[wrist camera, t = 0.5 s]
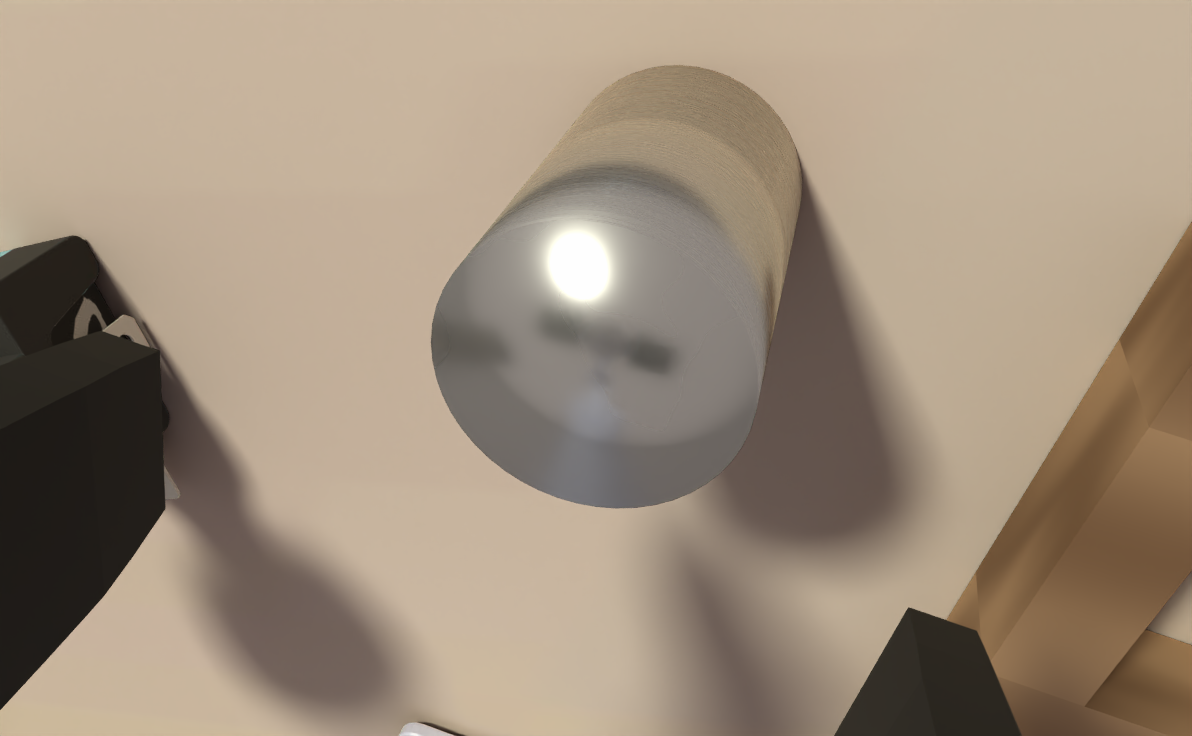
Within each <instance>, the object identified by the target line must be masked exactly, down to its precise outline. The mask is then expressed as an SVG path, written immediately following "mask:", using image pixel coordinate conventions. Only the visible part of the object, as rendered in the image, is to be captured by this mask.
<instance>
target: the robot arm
mask: <svg viewBox="0 0 1192 736" xmlns="http://www.w3.org/2000/svg"><path fill="white" fill-rule="evenodd" d="M164 510H165V482H164V456H163V429H162V402H161V376H160V351H159V350H156V349H153V348H150V347H147V346H144V345H141V344H138V343H136V342H133V341H130V340H127V339H124V338H121V337H118V336H115V335H112V334H109V333H106V332H103V331H98V332H95V333H92V334H89V335H86V336H82V337H79V338H76V339H73V340H70V341H67V342H64V343H61V344H58V345H55V346H53V347H50V348H47V349H44V350H41V351H38V352H36V353H33V354H30V355H27V356H25V357H22V358H19V359H16V360H14V361H11V362H8V363H5V364H3V365H0V710H1V709H2V708H3V707H4V705H5V704H6V703H7V702H8V701H9V700H10V699H11V698H12V697H13V696H14V695H15V694H16V692H17V691H18V690H19V689H20V688H21V687H22V686H23V685H24V684H25V683H26V682H27V681H28V679H29V678H30V677H31V676H32V675H33V674H34V673H35V672H36V671H37V670H38V669H39V667H40V666H41V665H42V664H43V663H44V662H45V661H46V660H47V659H48V658H49V657H50V655H51V654H52V653H53V652H54V651H55V650H56V649H57V648H58V647H59V646H60V644H61V643H62V642H63V641H64V640H65V639H66V638H67V637H68V636H69V634H70V633H71V632H72V631H73V630H74V629H75V628H76V627H77V626H78V625H79V623H80V622H81V621H82V620H83V619H84V618H85V617H86V616H87V615H88V613H89V612H90V611H91V610H92V609H93V608H94V607H95V605H96V604H97V603H98V602H99V601H100V600H101V599H102V598H103V596H104V595H105V594H106V593H107V591H108V590H109V588H110V587H111V586H112V584H113V583H114V582H115V580H116V579H117V577H118V576H119V575H120V573H121V572H122V571H123V569H124V568H125V567H126V565H127V564H128V562H129V561H130V560H131V558H132V557H133V556H134V554H135V553H136V551H137V550H138V548H139V547H140V545H141V544H142V542H143V541H144V539H145V538H146V536H147V535H148V533H149V532H150V531H151V529H152V528H153V526H154V525H155V523H156V522H157V520H158V519H159V517H160V516H161V514H162V513H163V511H164ZM399 736H455V735H452V734H449V733H446V732H444V731H441V730H438V729H436V728H433V727H430V726H427V725H425V724H422V723H417V722H413V723H408V724H406V725H404V727H403V728H402V730H401V732H400V734H399ZM834 736H1022V734H1021V732H1020V729H1019V727H1018V725H1017V722H1016V720H1015V718H1014V715H1013V713H1012V711H1011V708H1010V706H1009V703H1008V701H1007V699H1006V696H1005V694H1004V692H1003V689H1002V687H1001V685H1000V682H999V680H998V677H997V675H996V673H995V670H994V668H993V666H992V663H991V661H990V659H989V656H988V654H987V652H986V649H985V647H984V645H983V643H982V641H981V638H980V636H979V634H978V632H977V631H976V630H973V629H970V628H967V627H965V626H962V625H959V624H956V623H953V622H950V621H947V620H944V619H941V618H938V617H935V616H932V615H930V614H927V613H924V612H921V611H918V610H915V609H912V608H909V607H908V609H907V611H906V612H905V614H904V616H903V618H902V619H901V621H900V623H899V625H898V626H897V628H896V630H895V631H894V633H893V635H892V637H891V638H890V640H889V642H888V644H887V645H886V647H885V649H884V650H883V652H882V654H881V656H880V657H879V659H878V661H877V663H876V664H875V666H874V668H873V669H872V671H871V673H870V675H869V676H868V678H867V680H866V682H865V683H864V685H863V687H862V688H861V690H860V692H859V694H858V695H857V697H856V699H855V701H854V702H853V704H852V706H851V707H850V709H849V711H848V713H847V714H846V716H845V718H844V720H843V721H842V723H841V725H840V726H839V728H838V730H837V732H836V733H835V735H834Z"/></svg>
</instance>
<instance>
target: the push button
mask: <svg viewBox="0 0 1192 736" xmlns="http://www.w3.org/2000/svg"><path fill="white" fill-rule="evenodd" d="M98 273H99V268H98V264H97V261H96V259H95V257H94V256H93V254H92V252H91V250H90V249H89V247H88V245H87V244H86V242H85V241H84V240H83V239H81V238H80V237H78V236H68V237H64V238H59V239H55V240H50V241H46V242H42V243H37V244H33V245H29V246H24V247H20V248H16V249H13V250H9V251H4V252H0V365H3V364H5V363H8V362H11V361H14V360H16V359H19V358H22V357H25V356H27V355H30V354H33V353H36V352H38V351H41V350H44V349H47V348H50V347H53V346H55V345H58V344H61V343H64V342H67V341H70V340H73V339H76V338H79V337H82V336H86V335H89V334H92V333H95V332H98V331H103V332H106V333H109V334H112V335H115V336H118V337H121V338H124V339H126V337H125V336H124V335H126V336H128V337H129V338H130V340H131V341H133V342H136V343H138V344H141V345H144V346H147V347H150V346H149V344H148V343H147V341H146V339H145V337H144V335H143V334H142V332H141V330H140V328H139V327H138V325H137V323H136V321H135V319H134V318H133V317H130V316H127V315H121V316H120V317H119V318H118V319H116V320H115V318H114V316H113V315H112V313H111V311H110V309H109V308H108V306H107V304H106V302H105V301H104V299H103V297H102V295H101V294H100V292H99V290H98V288H97V287H96V285H95V283H94V281H95V280H96V278H97V276H98ZM161 402H162V400H161ZM168 424H169V413H168V411H167V409H166V407H165V405H164V404H163V402H162V429H163V432H164V431H165V429H166V428H167V427H168ZM163 456H164V455H163ZM164 458H165V457H164ZM164 482H165V500H170V499H178V498H179V497H180V494H181V493H180V491H179V490H178V488H177V486H176V485H175V483H174V481H173V480H172V478H171V476H170V475H169V473H168V471H167V469H166V468H165V466H164Z"/></svg>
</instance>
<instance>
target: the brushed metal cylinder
mask: <svg viewBox="0 0 1192 736" xmlns="http://www.w3.org/2000/svg"><path fill="white" fill-rule="evenodd" d="M801 197H802V174H801V167H800V161H799V158H798V154H797V151H796V147H795V145H794V143H793V140H792V138H791V136H790V134H789V132H788V130H787V128H786V127H785V125H784V124H783V122H782V120H781V119H780V117H779V116H778V115H777V114H776V113H775V111H774V110H773V109H772V108H771V106H770V105H769V104H768V103H767V102H765V101H764V100H763V99H762V98H761V97H760V96H759V95H758V94H757V93H755V92H754V91H752V90H751V89H750V88H748V87H747V86H745V85H744V84H742V83H740V82H738V81H736V80H735V79H733V78H731V77H729V76H726V75H724V74H721V73H718V72H716V71H713V70H708V69H704V68H700V67H693V66H683V65H674V66H660V67H654V68H649V69H645V70H642V71H639V72H636V73H633V74H631V75H628V76H626V77H624V78H622V79H620V80H618V81H617V82H615V83H614V84H612V85H611V86H609V87H608V88H606V89H605V90H604V91H603V92H601V93H600V94H599V95H598V96H597V97H596V98H595V99H594V100H593V101H592V102H591V103H590V105H589V106H588V107H587V108H586V109H585V110H584V112H583V113H582V114H581V115H580V117H579V118H578V119H577V120H576V122H575V123H574V124H573V125H572V127H571V128H570V129H569V130H568V131H567V133H566V134H565V135H564V136H563V138H562V139H561V140H560V141H559V143H558V144H557V145H556V146H555V148H554V149H553V150H552V151H551V153H550V154H549V155H548V156H547V158H546V159H545V160H544V161H543V162H542V164H541V165H540V166H539V167H538V169H537V170H536V171H535V172H534V174H533V175H532V176H531V177H530V179H529V180H528V181H527V182H526V184H525V185H524V186H523V187H522V188H521V190H520V191H519V192H518V193H517V195H516V196H515V197H514V198H513V200H512V201H511V202H510V203H509V205H508V206H507V207H506V208H505V210H504V211H503V212H502V213H501V214H500V216H499V217H498V218H497V219H496V221H495V222H494V223H493V224H492V226H491V227H490V228H489V229H488V231H487V232H486V233H485V234H484V236H483V237H482V238H481V239H480V241H479V242H478V243H477V244H476V245H475V247H474V248H473V249H472V250H471V252H470V253H469V254H468V255H467V257H466V258H465V259H464V260H463V262H462V263H461V264H460V265H459V267H458V268H457V269H456V270H455V271H454V273H453V274H452V276H451V277H450V279H449V281H448V282H447V284H446V286H445V287H444V289H443V291H442V294H441V296H440V298H439V301H438V303H437V306H436V310H435V314H434V319H433V323H432V336H431V347H432V360H433V365H434V369H435V374H436V378H437V381H438V384H439V387H440V390H441V392H442V395H443V397H444V399H445V401H446V403H447V405H448V407H449V409H450V411H451V413H452V415H453V416H454V418H455V419H456V421H457V422H458V424H459V425H460V427H461V428H462V430H463V431H464V432H465V433H466V434H467V436H468V437H469V438H470V439H471V440H472V442H473V443H474V444H475V445H476V446H477V447H478V448H479V449H480V450H481V451H482V452H483V453H484V454H485V455H486V456H487V457H488V458H489V459H491V460H492V461H493V462H494V463H496V464H497V465H498V466H500V467H501V468H502V469H503V470H505V471H506V472H508V473H509V474H511V475H512V476H514V477H515V478H517V479H519V480H520V481H522V482H524V483H526V484H528V485H530V486H532V487H534V488H535V489H537V490H539V491H542V492H545V493H547V494H550V495H552V496H555V497H557V498H560V499H564V500H567V501H571V502H574V503H578V504H584V505H589V506H595V507H605V508H637V507H645V506H652V505H657V504H661V503H664V502H668V501H672V500H675V499H677V498H680V497H682V496H685V495H687V494H690V493H691V492H693V491H695V490H697V489H698V488H700V487H702V486H704V485H705V484H707V483H708V482H709V481H711V480H712V479H713V478H715V477H716V476H717V475H719V474H720V473H721V472H722V471H723V470H724V469H725V468H726V467H727V466H728V465H729V464H730V462H731V461H732V460H733V459H734V458H735V456H736V455H737V453H738V452H739V450H740V449H741V448H742V446H743V444H744V442H745V440H746V438H747V436H748V434H749V432H750V430H751V427H752V424H753V420H754V417H755V413H756V410H757V405H758V400H759V396H760V391H761V386H762V382H763V377H764V372H765V368H766V363H767V358H768V354H769V349H770V345H771V340H772V335H773V331H774V326H775V321H776V317H777V312H778V307H779V303H780V298H781V293H782V289H783V284H784V280H785V275H786V270H787V266H788V261H789V256H790V252H791V247H792V242H793V238H794V233H795V229H796V224H797V219H798V215H799V210H800V204H801Z"/></svg>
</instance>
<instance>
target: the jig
mask: <svg viewBox="0 0 1192 736" xmlns="http://www.w3.org/2000/svg"><path fill="white" fill-rule="evenodd" d="M1191 571H1192V222H1191V224H1190V225H1189V227H1188V229H1187V230H1186V232H1185V234H1184V235H1183V237H1182V238H1181V240H1180V242H1179V243H1178V245H1177V246H1176V248H1175V250H1174V251H1173V253H1172V255H1171V256H1170V258H1169V259H1168V261H1167V263H1166V264H1165V266H1164V268H1163V269H1162V271H1161V272H1160V274H1159V276H1158V277H1157V279H1156V281H1155V282H1154V284H1153V285H1152V287H1151V289H1150V290H1149V292H1148V294H1147V295H1146V297H1145V298H1144V300H1143V302H1142V303H1141V305H1140V307H1139V308H1138V310H1137V311H1136V313H1135V315H1134V316H1133V318H1132V320H1131V321H1130V323H1129V324H1128V326H1127V328H1126V329H1125V331H1124V333H1123V334H1122V336H1121V337H1120V339H1119V341H1118V342H1117V344H1116V346H1115V347H1114V349H1113V350H1112V352H1111V354H1110V355H1109V357H1108V359H1107V360H1106V362H1105V363H1104V365H1103V367H1102V368H1101V370H1100V372H1099V373H1098V375H1097V376H1096V378H1095V380H1094V381H1093V383H1092V384H1091V386H1090V388H1089V389H1088V391H1087V393H1086V394H1085V396H1084V397H1083V399H1082V401H1081V402H1080V404H1079V406H1078V407H1077V409H1076V410H1075V412H1074V414H1073V415H1072V417H1071V419H1070V420H1069V422H1068V423H1067V425H1066V427H1065V428H1064V430H1063V432H1062V433H1061V435H1060V436H1059V438H1058V440H1057V441H1056V443H1055V445H1054V446H1053V448H1052V449H1051V451H1050V453H1049V454H1048V456H1047V458H1046V459H1045V461H1044V462H1043V464H1042V466H1041V467H1040V469H1039V471H1038V472H1037V474H1036V475H1035V477H1034V479H1033V480H1032V482H1031V484H1030V485H1029V487H1028V488H1027V490H1026V492H1025V493H1024V495H1023V497H1022V498H1021V500H1020V501H1019V503H1018V505H1017V506H1016V508H1015V510H1014V511H1013V513H1012V514H1011V516H1010V518H1009V519H1008V521H1007V522H1006V524H1005V526H1004V527H1003V529H1002V531H1001V532H1000V534H999V535H998V537H997V539H996V540H995V542H994V544H993V545H992V547H991V548H990V550H989V552H988V553H987V555H986V557H985V558H984V560H983V561H982V563H981V565H980V566H979V568H978V570H977V571H976V573H975V574H974V576H973V578H972V579H971V581H970V583H969V584H968V586H967V587H966V589H965V591H964V592H963V594H962V596H961V597H960V599H959V600H958V602H957V604H956V605H955V607H954V609H953V610H952V612H951V613H950V615H949V617H948V618H947V621H950V622H953V623H956V624H959V625H962V626H965V627H967V628H970V629H973V630H976V631H977V632H978V634H979V636H980V638H981V641H982V643H983V645H984V647H985V649H986V652H987V654H988V656H989V659H990V661H991V663H992V666H993V668H994V670H995V673H996V675H997V677H998V680H999V682H1000V685H1001V687H1002V689H1003V692H1004V694H1005V696H1006V699H1007V701H1008V703H1009V706H1010V708H1011V711H1012V713H1013V715H1014V718H1015V720H1016V722H1017V725H1018V727H1019V729H1020V732H1021V734H1022V736H1192V645H1190V644H1187V643H1184V642H1181V641H1178V640H1175V639H1172V638H1169V637H1166V636H1163V635H1160V634H1157V633H1154V632H1151V631H1148V630H1145V629H1146V628H1147V626H1148V625H1149V624H1150V623H1151V621H1152V620H1153V619H1154V617H1155V616H1156V615H1157V614H1158V612H1159V611H1160V610H1161V609H1162V607H1163V606H1164V605H1165V604H1166V602H1167V601H1168V600H1169V598H1170V597H1171V596H1172V595H1173V593H1174V592H1175V591H1176V590H1177V588H1178V587H1179V586H1180V585H1181V583H1182V582H1183V581H1184V579H1185V578H1186V577H1187V576H1188V574H1189V573H1190V572H1191Z"/></svg>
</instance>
